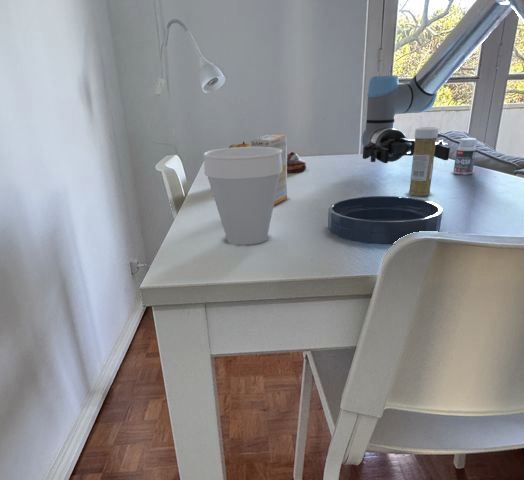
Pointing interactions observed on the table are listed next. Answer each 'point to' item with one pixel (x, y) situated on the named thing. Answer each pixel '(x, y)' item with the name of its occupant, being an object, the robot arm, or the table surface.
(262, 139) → the supplement box
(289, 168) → the pastry
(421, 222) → the dark blue round dish
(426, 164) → the sprinkles bottle
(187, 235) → the table surface
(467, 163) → the pill bottle
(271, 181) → the white flower pot
